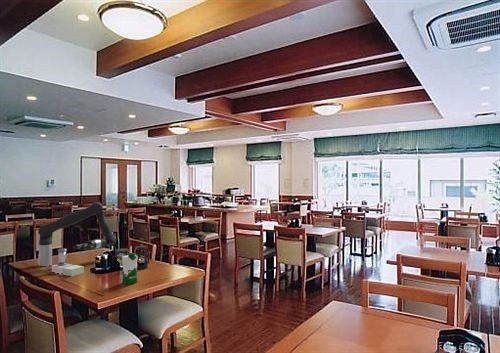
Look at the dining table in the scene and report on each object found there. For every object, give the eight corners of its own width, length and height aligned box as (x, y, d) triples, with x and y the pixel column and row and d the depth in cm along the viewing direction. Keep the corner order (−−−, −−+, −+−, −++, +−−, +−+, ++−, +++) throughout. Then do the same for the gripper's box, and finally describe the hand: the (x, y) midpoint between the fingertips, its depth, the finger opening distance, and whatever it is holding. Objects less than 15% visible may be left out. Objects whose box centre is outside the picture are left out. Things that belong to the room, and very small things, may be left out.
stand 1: (51, 272, 265) (51, 265, 265) (64, 269, 274) (64, 263, 274) (60, 274, 260) (60, 267, 260) (72, 271, 269) (72, 264, 269)
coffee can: (128, 268, 276) (128, 250, 276) (114, 269, 273) (114, 251, 273) (129, 265, 286) (129, 247, 286) (115, 266, 283) (115, 248, 283)
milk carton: (127, 285, 232) (127, 255, 232) (120, 283, 238) (120, 253, 238) (139, 282, 239) (139, 252, 239) (131, 280, 245) (131, 251, 245)
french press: (139, 270, 270) (139, 240, 270) (132, 268, 276) (132, 239, 276) (152, 267, 280) (152, 238, 280) (144, 265, 285) (144, 237, 285)
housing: (55, 265, 266) (55, 249, 266) (63, 263, 271) (63, 248, 271) (61, 266, 263) (61, 250, 263) (68, 264, 268) (68, 248, 268)
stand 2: (62, 274, 259) (62, 267, 259) (75, 271, 268) (75, 264, 268) (71, 276, 254) (71, 269, 254) (83, 273, 263) (83, 266, 263)
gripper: (87, 239, 295) (70, 242, 281) (99, 240, 288) (82, 244, 274) (88, 248, 295) (70, 252, 281) (99, 249, 288) (82, 253, 274)
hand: (76, 248), depth 277 cm, fingers open, 8 cm apart
